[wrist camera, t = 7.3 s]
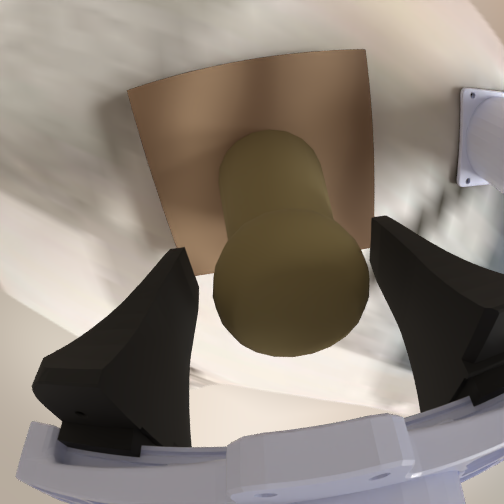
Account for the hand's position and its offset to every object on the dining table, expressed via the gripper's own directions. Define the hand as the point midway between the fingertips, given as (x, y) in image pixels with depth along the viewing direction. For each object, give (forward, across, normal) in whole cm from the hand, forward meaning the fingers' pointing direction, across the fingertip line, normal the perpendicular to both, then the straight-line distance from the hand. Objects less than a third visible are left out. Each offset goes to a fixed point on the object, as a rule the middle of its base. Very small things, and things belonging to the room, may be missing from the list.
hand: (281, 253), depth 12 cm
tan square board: (+10, 0, 0) cm, 10 cm away
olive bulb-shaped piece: (+8, 0, 0) cm, 8 cm away
